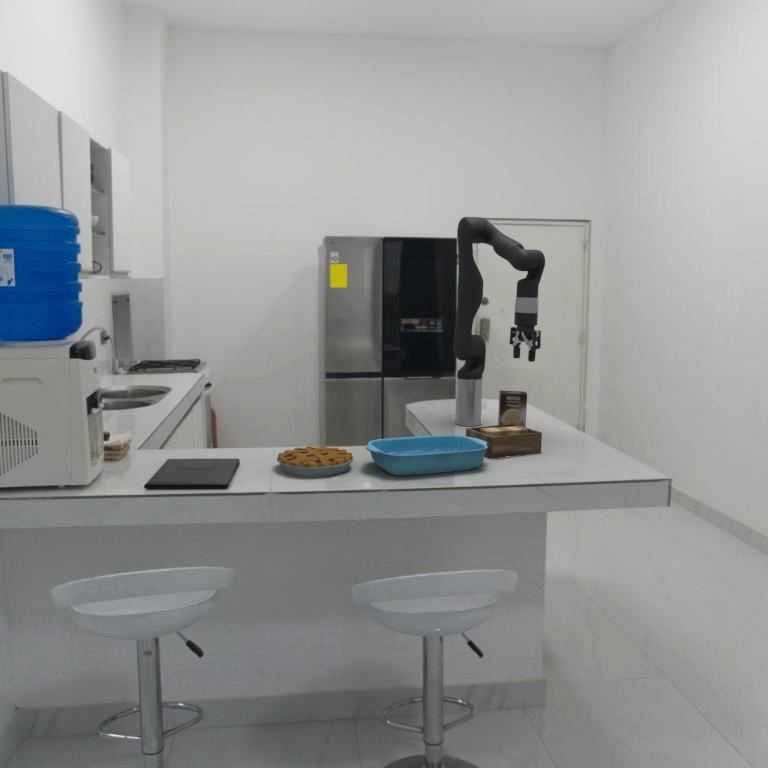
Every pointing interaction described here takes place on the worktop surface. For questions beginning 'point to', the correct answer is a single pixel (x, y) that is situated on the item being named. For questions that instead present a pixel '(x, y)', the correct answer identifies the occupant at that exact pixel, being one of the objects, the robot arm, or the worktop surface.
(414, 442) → the casserole dish
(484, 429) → the tan flat block
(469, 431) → the wooden box
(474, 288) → the robot arm
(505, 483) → the worktop surface
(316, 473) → the pie
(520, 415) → the coffee box
